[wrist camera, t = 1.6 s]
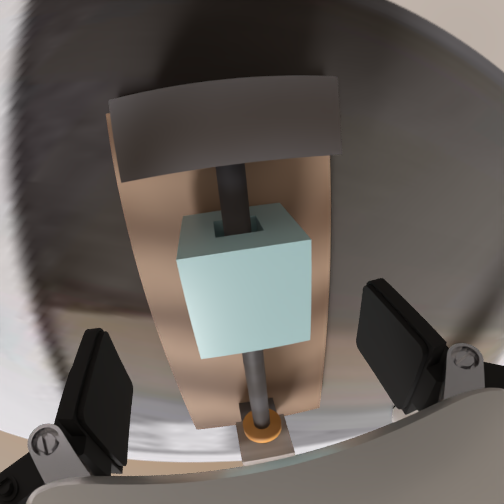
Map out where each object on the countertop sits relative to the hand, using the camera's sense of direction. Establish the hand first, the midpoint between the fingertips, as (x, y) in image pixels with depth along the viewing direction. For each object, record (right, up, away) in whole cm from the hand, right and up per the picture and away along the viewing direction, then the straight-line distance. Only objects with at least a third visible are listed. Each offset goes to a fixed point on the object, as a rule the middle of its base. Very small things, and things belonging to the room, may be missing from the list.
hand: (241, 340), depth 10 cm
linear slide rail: (0, 0, +11) cm, 11 cm away
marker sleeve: (0, +3, +6) cm, 7 cm away
